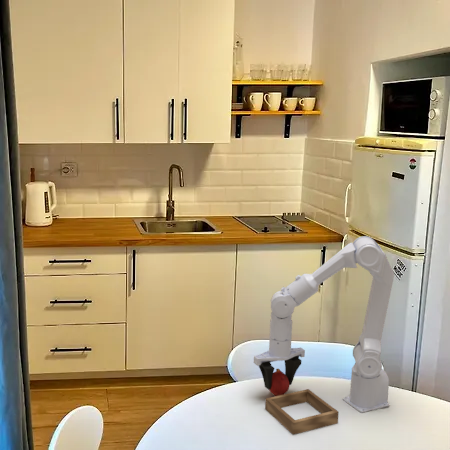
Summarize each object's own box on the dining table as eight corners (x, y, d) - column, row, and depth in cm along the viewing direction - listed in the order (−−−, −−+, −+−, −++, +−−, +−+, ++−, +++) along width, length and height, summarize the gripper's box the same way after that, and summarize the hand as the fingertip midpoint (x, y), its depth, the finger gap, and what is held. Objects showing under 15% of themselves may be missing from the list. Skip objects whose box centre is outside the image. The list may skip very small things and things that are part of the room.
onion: (286, 391, 159) (288, 364, 158) (289, 402, 154) (291, 373, 152) (265, 391, 159) (266, 364, 158) (267, 402, 154) (269, 373, 152)
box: (307, 399, 155) (308, 389, 155) (337, 423, 144) (338, 411, 143) (265, 409, 150) (265, 398, 149) (293, 434, 138) (293, 423, 138)
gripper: (295, 328, 160) (293, 374, 163) (248, 335, 154) (246, 384, 156) (310, 337, 154) (307, 385, 156) (262, 345, 147) (260, 395, 150)
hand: (278, 385), depth 156 cm, fingers closed on onion, 6 cm apart
